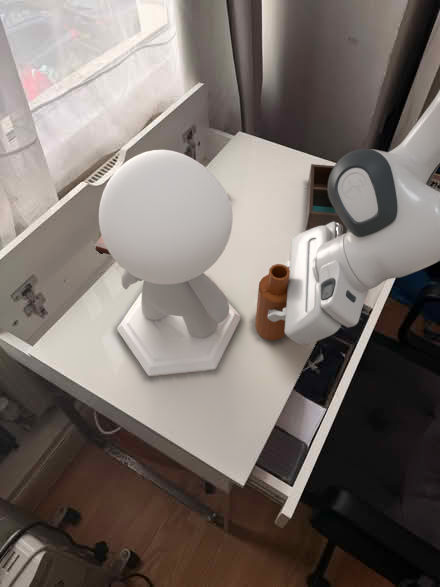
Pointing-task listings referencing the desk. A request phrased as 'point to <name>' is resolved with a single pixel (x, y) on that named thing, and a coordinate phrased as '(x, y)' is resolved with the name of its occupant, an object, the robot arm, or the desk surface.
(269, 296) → the bottle
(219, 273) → the desk surface
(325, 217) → the box
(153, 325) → the white cartoon figure
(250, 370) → the desk surface
